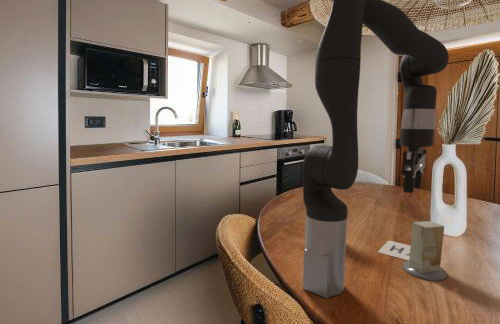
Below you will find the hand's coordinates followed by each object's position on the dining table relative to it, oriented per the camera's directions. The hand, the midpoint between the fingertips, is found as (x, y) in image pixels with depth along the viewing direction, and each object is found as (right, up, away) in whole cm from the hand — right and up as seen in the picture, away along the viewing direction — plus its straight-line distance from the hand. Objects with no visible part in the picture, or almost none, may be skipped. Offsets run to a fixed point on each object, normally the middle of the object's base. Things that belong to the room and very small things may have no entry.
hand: (412, 190), depth 77 cm
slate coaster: (+3, -21, +1) cm, 22 cm away
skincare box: (+4, -21, +1) cm, 21 cm away
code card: (+4, -20, +13) cm, 24 cm away
